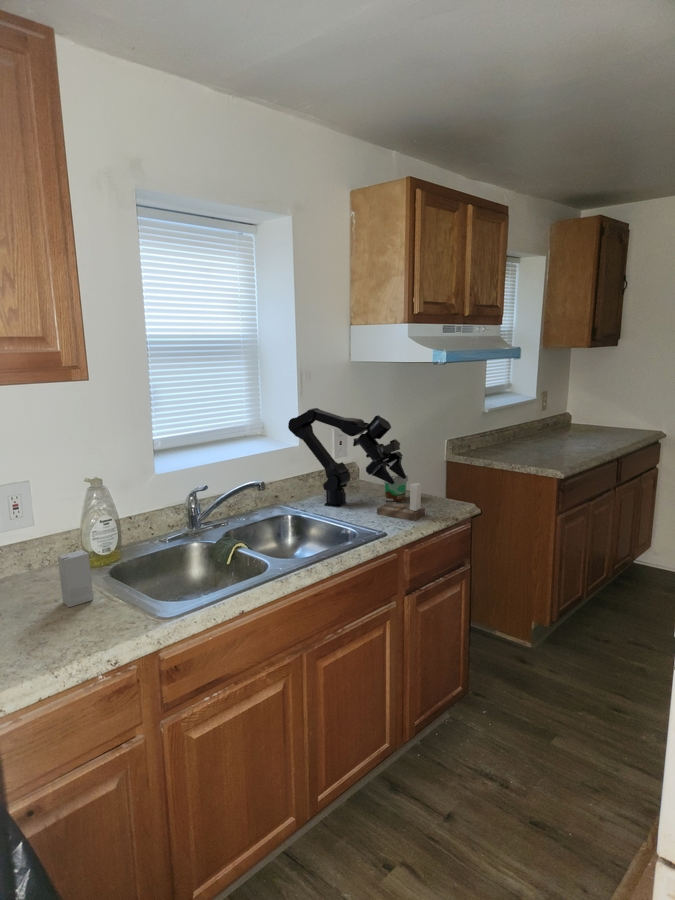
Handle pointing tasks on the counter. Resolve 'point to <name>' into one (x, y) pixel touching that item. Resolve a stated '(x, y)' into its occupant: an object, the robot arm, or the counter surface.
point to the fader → (415, 496)
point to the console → (400, 511)
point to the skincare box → (75, 578)
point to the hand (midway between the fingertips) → (399, 480)
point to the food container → (396, 489)
